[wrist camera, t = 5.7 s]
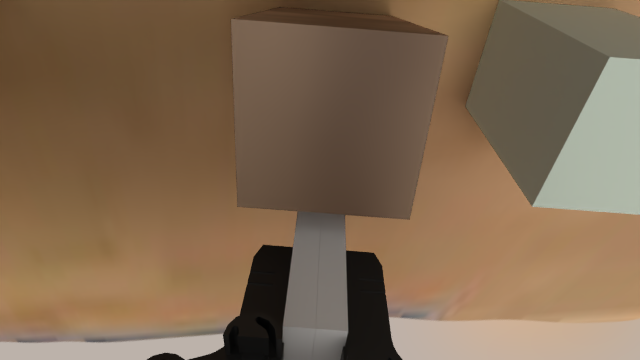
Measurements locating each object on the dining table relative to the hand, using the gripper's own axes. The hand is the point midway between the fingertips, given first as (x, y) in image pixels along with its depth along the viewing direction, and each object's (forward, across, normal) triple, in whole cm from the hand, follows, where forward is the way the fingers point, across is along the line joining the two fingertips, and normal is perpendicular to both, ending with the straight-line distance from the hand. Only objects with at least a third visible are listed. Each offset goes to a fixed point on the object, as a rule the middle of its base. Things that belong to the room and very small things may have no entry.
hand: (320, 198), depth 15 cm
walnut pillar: (+6, 0, +3) cm, 7 cm away
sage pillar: (+6, +10, +4) cm, 12 cm away
